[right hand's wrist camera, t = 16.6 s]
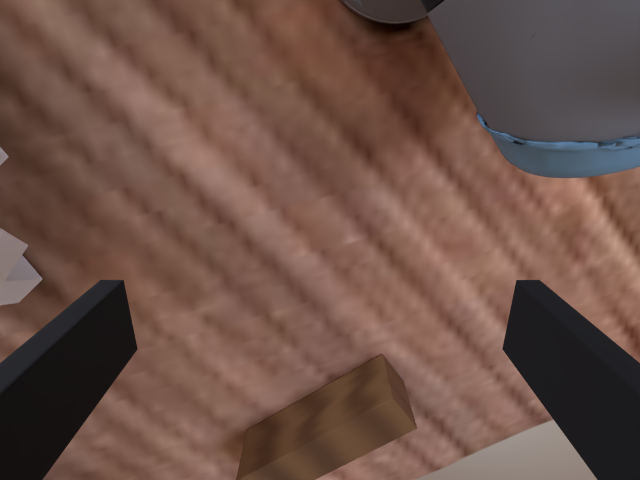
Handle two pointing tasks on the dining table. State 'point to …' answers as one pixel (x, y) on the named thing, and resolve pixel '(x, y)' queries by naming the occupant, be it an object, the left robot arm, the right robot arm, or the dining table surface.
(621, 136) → the right robot arm
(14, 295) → the pile of blocks
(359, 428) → the bar
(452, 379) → the dining table surface
